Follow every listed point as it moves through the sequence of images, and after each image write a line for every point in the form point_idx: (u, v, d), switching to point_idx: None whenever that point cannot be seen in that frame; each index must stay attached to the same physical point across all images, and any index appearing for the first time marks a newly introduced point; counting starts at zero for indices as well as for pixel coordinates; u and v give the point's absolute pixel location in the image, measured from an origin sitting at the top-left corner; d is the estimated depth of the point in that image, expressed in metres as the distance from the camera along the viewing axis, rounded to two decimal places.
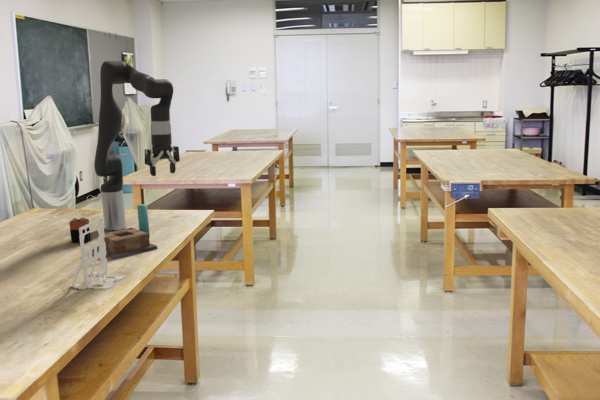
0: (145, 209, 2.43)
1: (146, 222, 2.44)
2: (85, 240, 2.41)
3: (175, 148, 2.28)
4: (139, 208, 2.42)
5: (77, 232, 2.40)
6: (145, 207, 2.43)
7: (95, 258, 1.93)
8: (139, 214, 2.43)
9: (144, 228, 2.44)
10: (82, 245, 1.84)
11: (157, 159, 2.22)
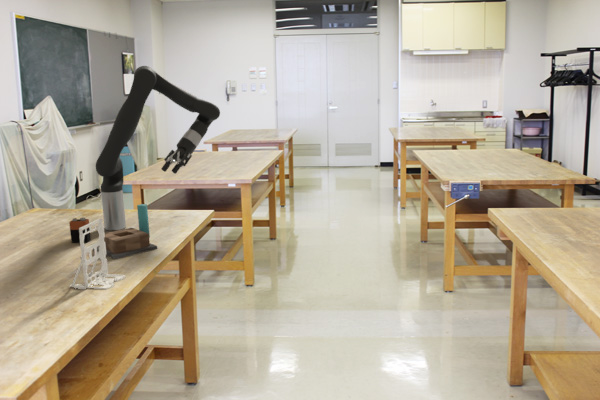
0: (145, 209, 2.43)
1: (146, 222, 2.44)
2: (85, 240, 2.41)
3: None
4: (139, 208, 2.42)
5: (77, 232, 2.40)
6: (145, 207, 2.43)
7: (95, 258, 1.93)
8: (139, 214, 2.43)
9: (144, 228, 2.44)
10: (82, 245, 1.84)
11: None
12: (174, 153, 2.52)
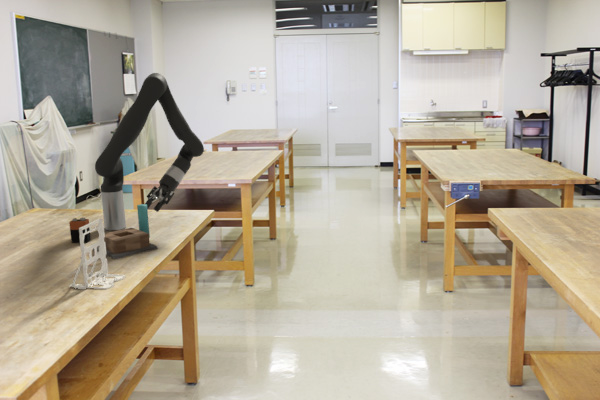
0: (145, 209, 2.43)
1: (146, 222, 2.44)
2: (85, 240, 2.41)
3: None
4: (139, 208, 2.42)
5: (77, 232, 2.40)
6: (145, 207, 2.43)
7: (95, 258, 1.93)
8: (139, 214, 2.43)
9: (144, 228, 2.44)
10: (82, 245, 1.84)
11: None
12: (156, 190, 2.49)
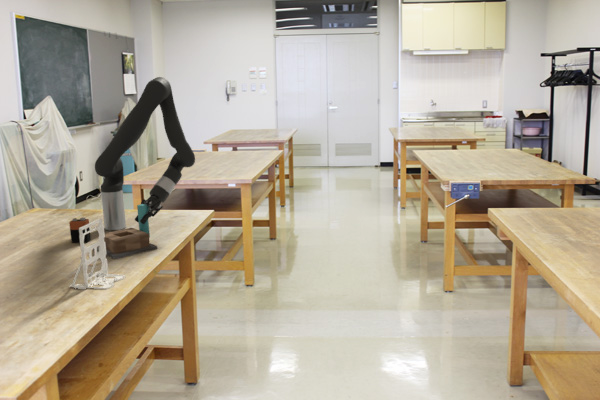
0: (145, 209, 2.43)
1: (146, 222, 2.44)
2: (85, 240, 2.41)
3: None
4: (139, 208, 2.42)
5: (77, 232, 2.40)
6: (145, 207, 2.43)
7: (95, 258, 1.93)
8: (139, 214, 2.43)
9: (144, 228, 2.44)
10: (82, 245, 1.84)
11: None
12: (147, 201, 2.46)
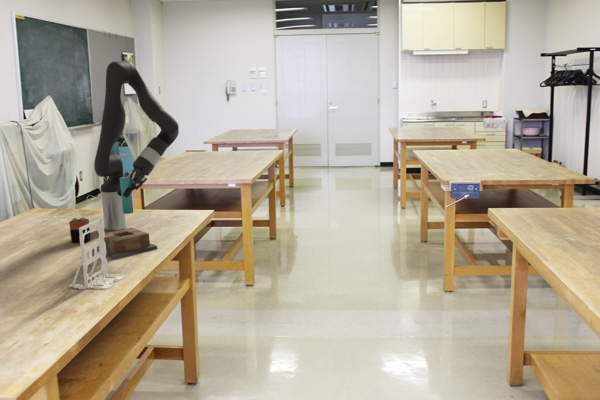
0: (128, 182, 2.27)
1: (129, 196, 2.28)
2: (85, 240, 2.41)
3: None
4: (122, 181, 2.26)
5: (77, 232, 2.40)
6: (128, 180, 2.27)
7: (95, 258, 1.93)
8: (122, 187, 2.27)
9: (128, 202, 2.28)
10: (82, 245, 1.84)
11: None
12: (130, 173, 2.30)
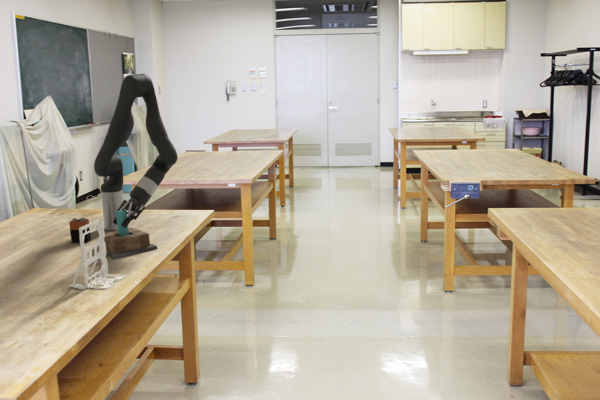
0: (124, 215, 2.26)
1: (126, 229, 2.27)
2: (85, 240, 2.41)
3: None
4: (118, 215, 2.26)
5: (77, 232, 2.40)
6: (124, 213, 2.26)
7: (95, 258, 1.93)
8: (118, 221, 2.26)
9: None
10: (82, 245, 1.84)
11: None
12: (127, 203, 2.29)
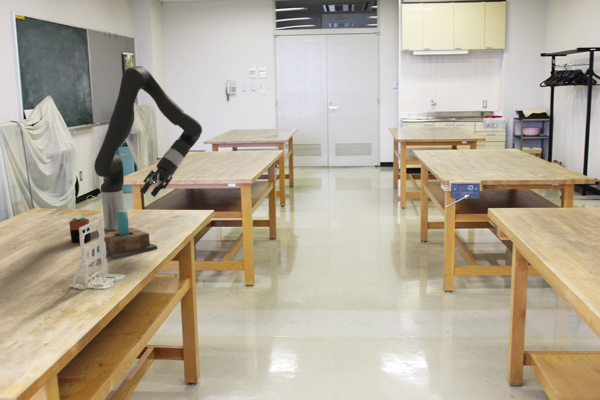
0: (125, 216, 2.26)
1: (126, 230, 2.27)
2: (85, 240, 2.41)
3: None
4: (118, 215, 2.25)
5: (77, 232, 2.40)
6: (125, 214, 2.26)
7: (95, 258, 1.93)
8: (118, 221, 2.26)
9: None
10: (82, 245, 1.84)
11: None
12: (154, 174, 2.36)
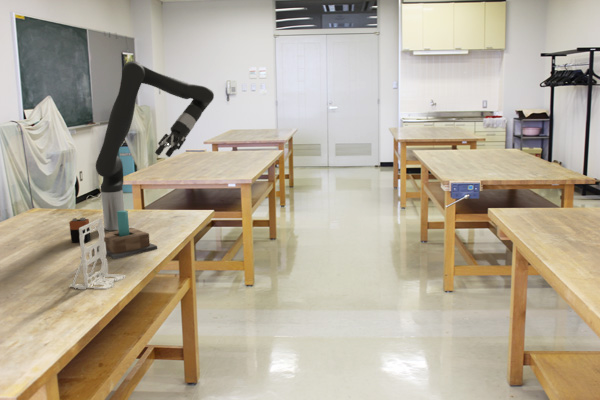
0: (125, 216, 2.26)
1: (126, 230, 2.27)
2: (85, 240, 2.41)
3: None
4: (119, 215, 2.26)
5: (77, 232, 2.40)
6: (125, 214, 2.26)
7: (95, 258, 1.93)
8: (119, 221, 2.26)
9: None
10: (82, 245, 1.84)
11: None
12: (168, 137, 2.51)
